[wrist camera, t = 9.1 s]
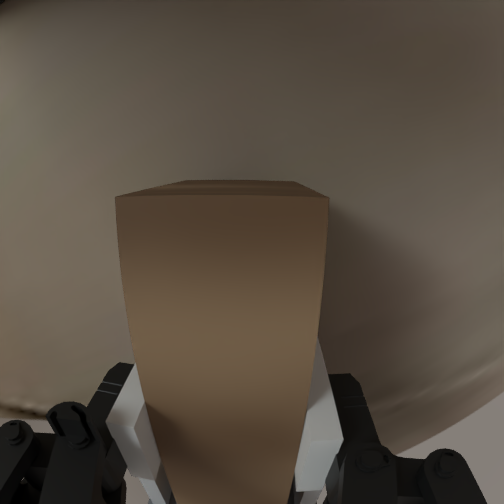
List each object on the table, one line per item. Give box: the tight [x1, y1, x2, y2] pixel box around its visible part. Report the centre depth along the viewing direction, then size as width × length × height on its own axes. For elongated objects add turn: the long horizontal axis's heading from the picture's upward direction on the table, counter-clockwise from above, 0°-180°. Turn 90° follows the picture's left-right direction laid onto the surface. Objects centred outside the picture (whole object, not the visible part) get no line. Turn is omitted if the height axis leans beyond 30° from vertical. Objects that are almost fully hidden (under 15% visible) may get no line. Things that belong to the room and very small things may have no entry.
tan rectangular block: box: [115, 180, 329, 504], centre depth 10 cm, size 13×4×6 cm, turn 179°
